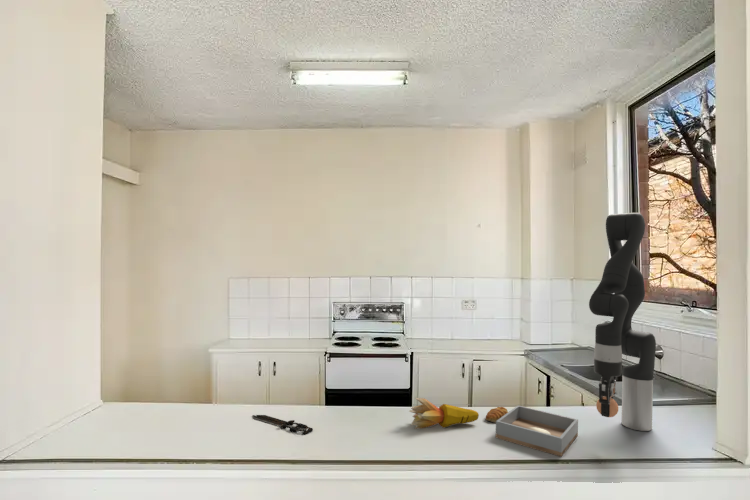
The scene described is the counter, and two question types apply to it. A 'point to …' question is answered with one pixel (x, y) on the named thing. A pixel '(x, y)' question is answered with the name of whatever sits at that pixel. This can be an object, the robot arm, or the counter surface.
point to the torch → (440, 415)
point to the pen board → (539, 428)
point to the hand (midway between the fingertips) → (607, 412)
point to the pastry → (496, 414)
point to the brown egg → (612, 407)
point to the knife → (283, 423)
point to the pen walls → (535, 437)
